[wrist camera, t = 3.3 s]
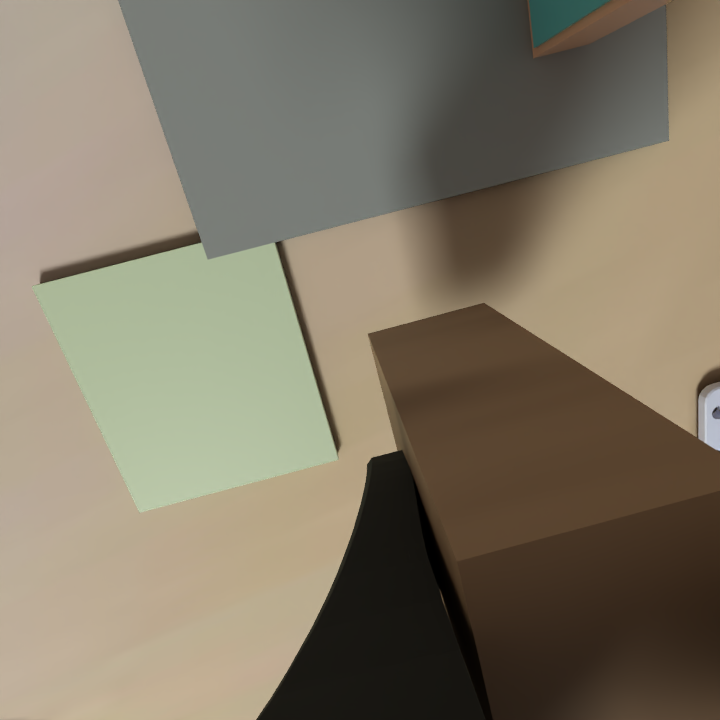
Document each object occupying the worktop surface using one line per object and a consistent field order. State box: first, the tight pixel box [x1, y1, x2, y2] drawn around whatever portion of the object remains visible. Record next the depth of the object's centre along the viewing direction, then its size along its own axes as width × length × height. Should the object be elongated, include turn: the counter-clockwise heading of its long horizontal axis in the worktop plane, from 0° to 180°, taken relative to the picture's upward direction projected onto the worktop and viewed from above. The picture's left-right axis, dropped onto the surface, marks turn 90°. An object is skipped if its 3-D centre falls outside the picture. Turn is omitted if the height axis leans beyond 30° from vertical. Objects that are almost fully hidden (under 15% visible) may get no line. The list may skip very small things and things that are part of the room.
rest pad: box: [32, 242, 339, 513], centre depth 16 cm, size 8×7×1 cm
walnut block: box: [368, 303, 720, 720], centre depth 8 cm, size 5×3×7 cm, turn 14°
